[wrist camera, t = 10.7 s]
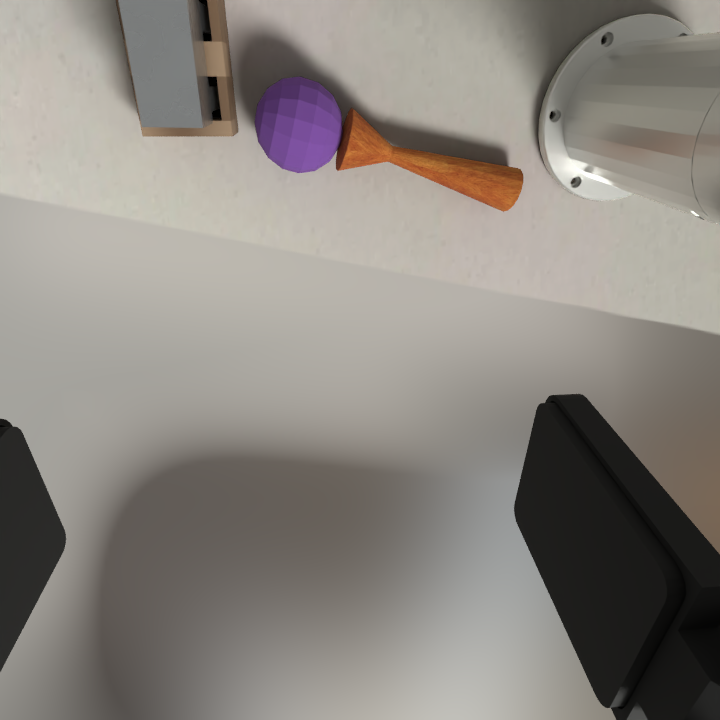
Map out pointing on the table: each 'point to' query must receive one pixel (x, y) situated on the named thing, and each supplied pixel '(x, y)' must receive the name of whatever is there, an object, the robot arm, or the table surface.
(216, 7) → the wooden frame
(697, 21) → the table surface
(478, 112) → the table surface
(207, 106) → the steel brick
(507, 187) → the kendama
